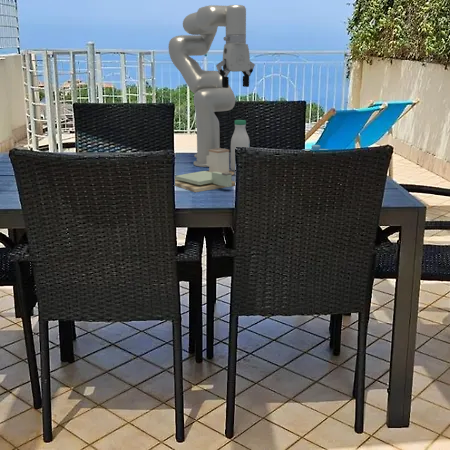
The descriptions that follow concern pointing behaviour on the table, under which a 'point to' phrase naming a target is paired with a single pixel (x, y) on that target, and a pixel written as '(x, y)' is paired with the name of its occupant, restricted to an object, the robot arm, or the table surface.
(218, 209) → the table surface
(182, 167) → the table surface
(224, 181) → the green piece
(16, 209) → the table surface
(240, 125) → the milk bottle
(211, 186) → the stand
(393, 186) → the table surface
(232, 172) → the mat
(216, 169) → the box with copper trim
